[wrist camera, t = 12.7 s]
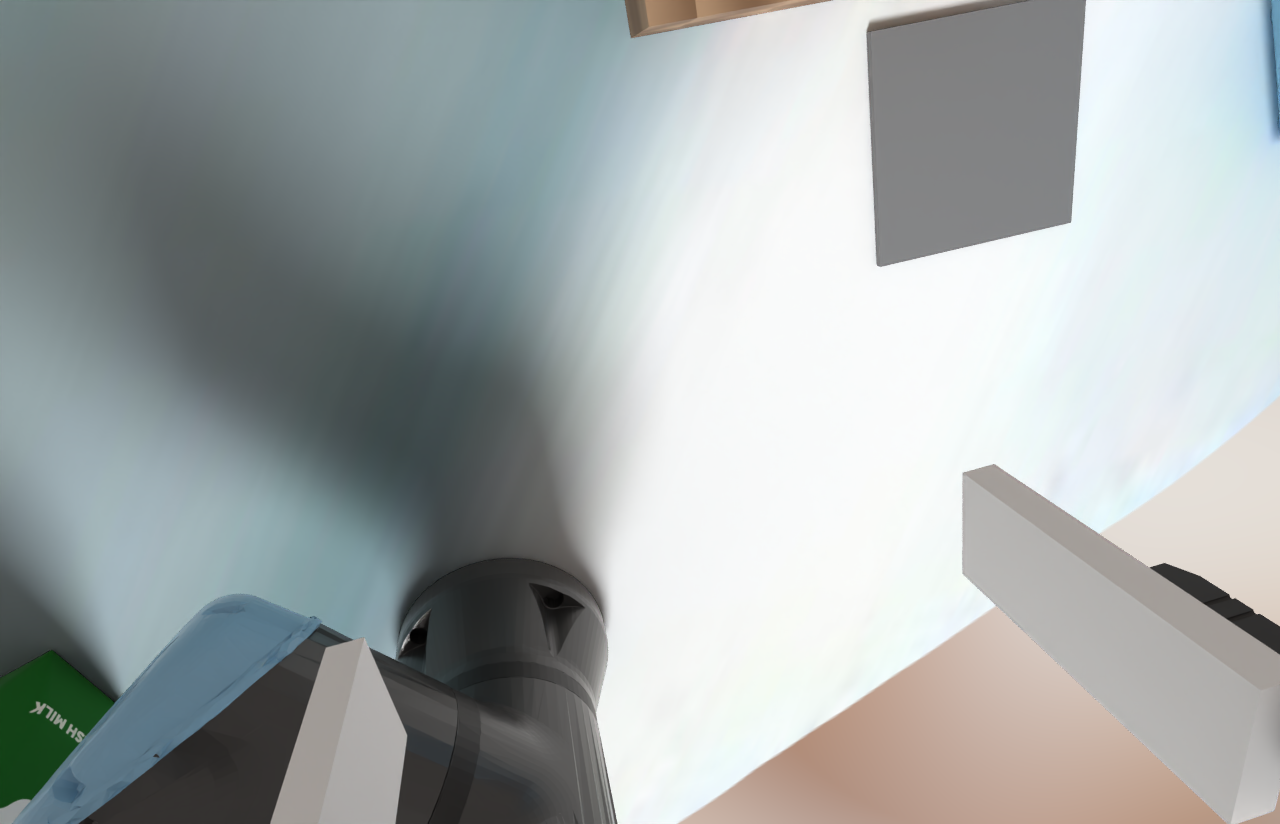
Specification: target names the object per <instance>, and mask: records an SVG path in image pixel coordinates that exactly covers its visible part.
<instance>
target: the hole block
mask: <svg viewBox="0 0 1280 824" xmlns="http://www.w3.org/2000/svg"><path fill="white" fill-rule="evenodd" d="M825 1H831V0H625V5H626V11H627V17H628V23H629V29H630V35H631V38H635V37H640V36H645V35H651V34H656V33H661V32H667V31H672V30H677V29H682V28H688V27H693V26H698V25H704V24H709V23H714V22H719V21H725V20H730V19H735V18H741V17H746V16H751V15H757V14H762V13H767V12H772V11H778V10H783V9H788V8H794V7H799V6H804V5H809V4H815V3H820V2H825Z"/></svg>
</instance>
